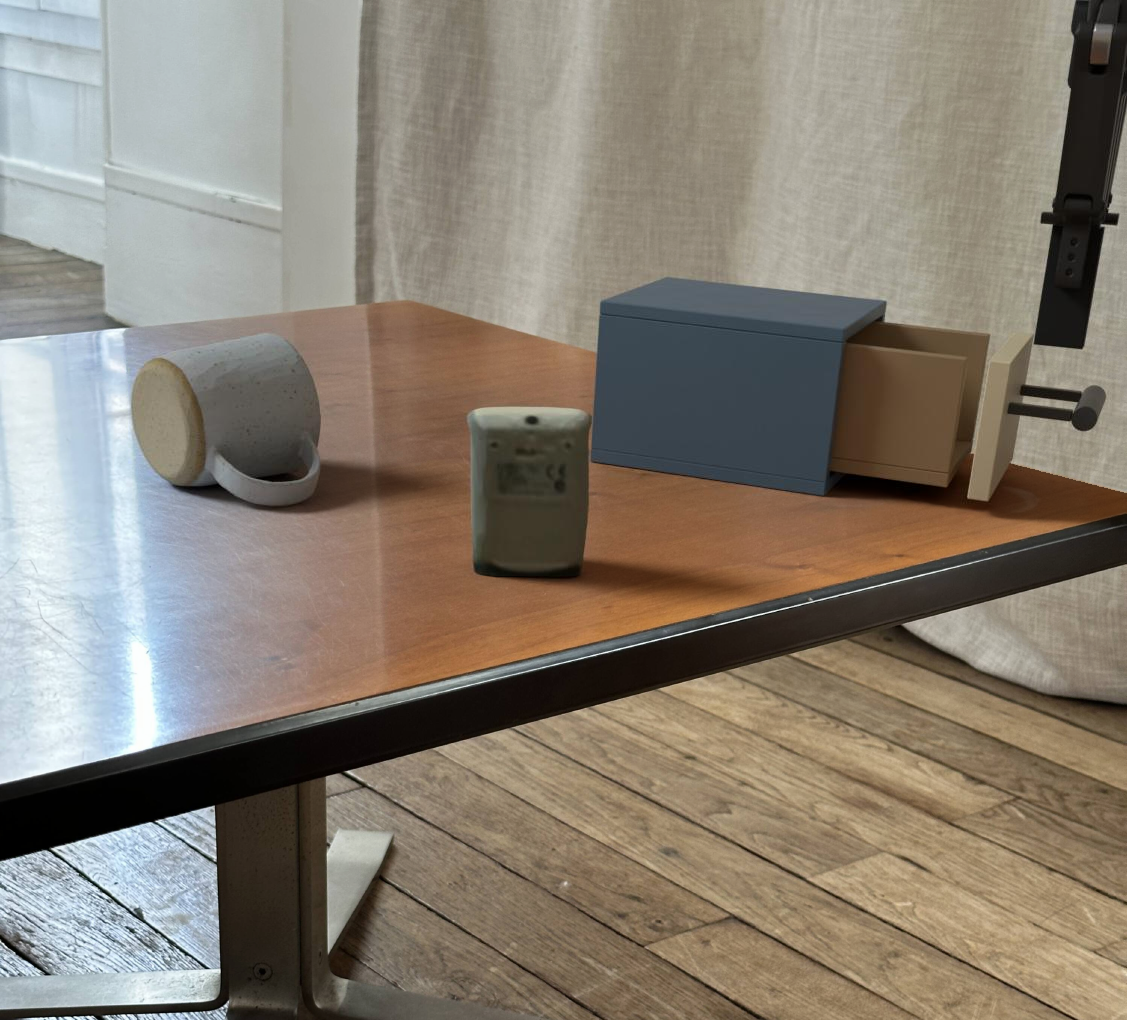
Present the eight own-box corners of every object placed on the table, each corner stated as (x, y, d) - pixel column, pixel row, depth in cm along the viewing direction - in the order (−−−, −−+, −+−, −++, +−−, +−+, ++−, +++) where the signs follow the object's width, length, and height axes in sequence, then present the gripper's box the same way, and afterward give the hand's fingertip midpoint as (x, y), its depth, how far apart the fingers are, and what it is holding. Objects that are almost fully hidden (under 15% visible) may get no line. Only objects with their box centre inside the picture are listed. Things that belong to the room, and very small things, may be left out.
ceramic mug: (124, 473, 89) (117, 333, 86) (248, 454, 94) (245, 321, 91) (232, 522, 82) (229, 372, 79) (359, 498, 88) (360, 357, 84)
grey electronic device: (502, 595, 74) (509, 423, 70) (442, 563, 77) (446, 399, 74) (600, 577, 77) (612, 412, 74) (538, 548, 81) (546, 389, 77)
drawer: (1093, 470, 99) (1118, 342, 95) (1077, 514, 89) (1104, 373, 86) (802, 431, 104) (816, 309, 101) (757, 468, 94) (771, 334, 91)
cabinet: (867, 452, 104) (887, 300, 100) (824, 496, 93) (844, 328, 89) (654, 422, 108) (665, 276, 104) (589, 461, 98) (599, 300, 94)
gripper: (1073, -112, 88) (1006, 323, 98) (1049, -140, 77) (976, 355, 87) (1216, -110, 86) (1133, 335, 96) (1213, -138, 75) (1120, 370, 84)
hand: (1059, 344), depth 91 cm, fingers closed
